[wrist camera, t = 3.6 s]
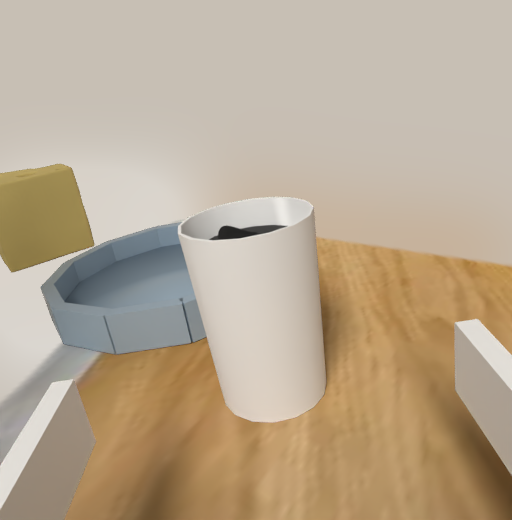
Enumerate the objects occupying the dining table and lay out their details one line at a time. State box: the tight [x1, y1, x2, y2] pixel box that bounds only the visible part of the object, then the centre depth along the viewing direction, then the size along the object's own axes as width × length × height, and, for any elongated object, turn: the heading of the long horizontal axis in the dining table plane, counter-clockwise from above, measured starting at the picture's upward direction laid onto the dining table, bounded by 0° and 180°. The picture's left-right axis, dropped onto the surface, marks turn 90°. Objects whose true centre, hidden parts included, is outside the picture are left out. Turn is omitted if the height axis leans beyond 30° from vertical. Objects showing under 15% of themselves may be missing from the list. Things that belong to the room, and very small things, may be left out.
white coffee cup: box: [178, 197, 326, 423], centre depth 25 cm, size 7×7×10 cm
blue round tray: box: [41, 222, 207, 354], centre depth 41 cm, size 20×20×3 cm
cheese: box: [0, 164, 94, 272], centre depth 57 cm, size 10×11×10 cm
